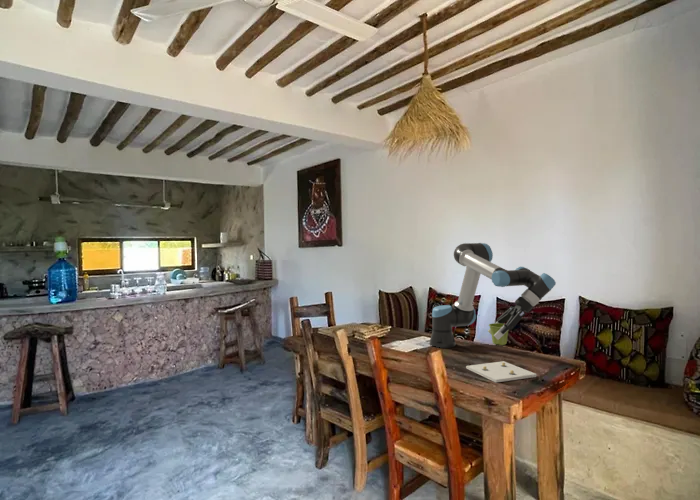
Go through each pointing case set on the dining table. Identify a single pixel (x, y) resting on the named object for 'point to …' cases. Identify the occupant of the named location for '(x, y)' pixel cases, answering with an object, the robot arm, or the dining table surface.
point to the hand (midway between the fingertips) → (492, 335)
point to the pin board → (501, 371)
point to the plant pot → (494, 329)
